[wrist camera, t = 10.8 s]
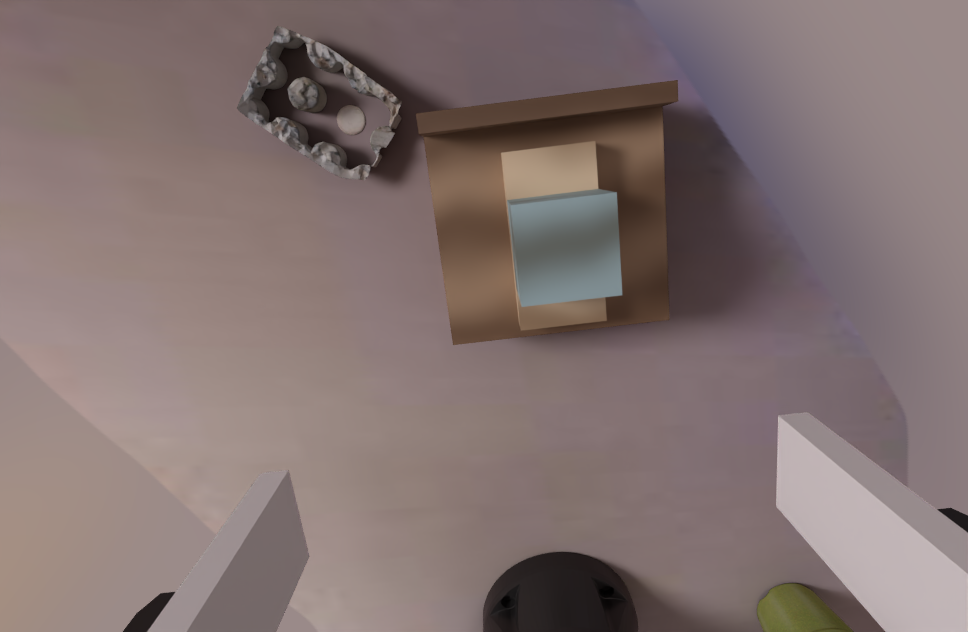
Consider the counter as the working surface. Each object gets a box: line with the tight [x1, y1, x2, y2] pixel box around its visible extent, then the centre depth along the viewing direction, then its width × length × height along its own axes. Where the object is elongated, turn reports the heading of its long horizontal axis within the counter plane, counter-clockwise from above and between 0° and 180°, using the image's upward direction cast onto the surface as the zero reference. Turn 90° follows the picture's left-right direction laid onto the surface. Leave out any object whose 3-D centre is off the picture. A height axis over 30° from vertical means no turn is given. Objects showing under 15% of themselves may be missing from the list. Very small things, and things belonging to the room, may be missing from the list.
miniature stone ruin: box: [237, 26, 402, 180], centre depth 41 cm, size 11×8×4 cm
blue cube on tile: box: [501, 141, 622, 331], centre depth 35 cm, size 12×6×7 cm, turn 7°
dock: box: [416, 80, 678, 345], centre depth 40 cm, size 16×16×10 cm
